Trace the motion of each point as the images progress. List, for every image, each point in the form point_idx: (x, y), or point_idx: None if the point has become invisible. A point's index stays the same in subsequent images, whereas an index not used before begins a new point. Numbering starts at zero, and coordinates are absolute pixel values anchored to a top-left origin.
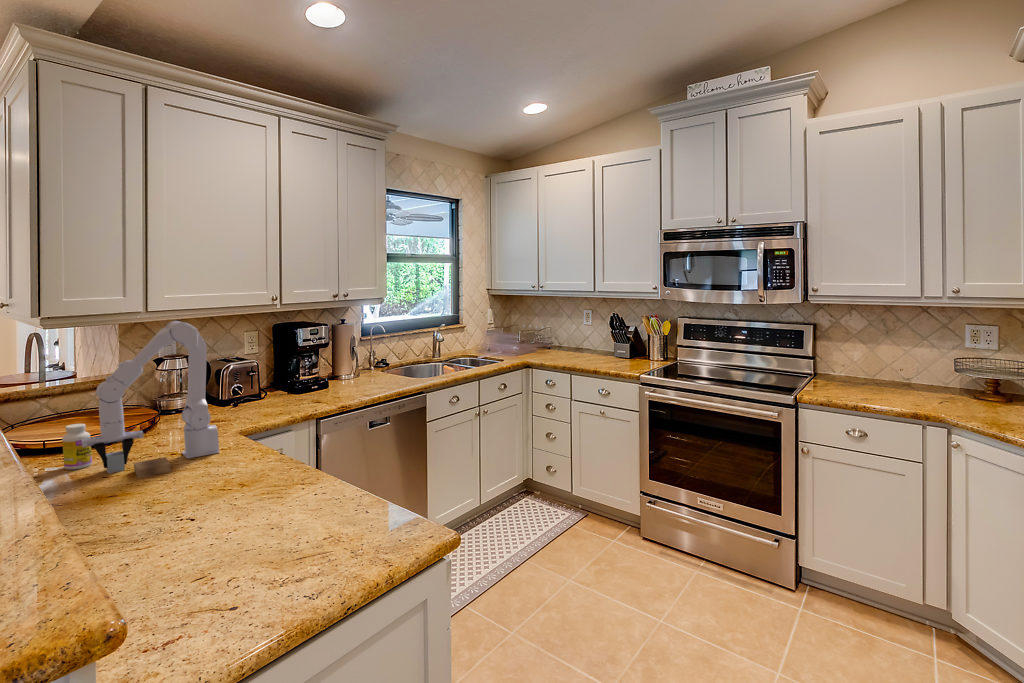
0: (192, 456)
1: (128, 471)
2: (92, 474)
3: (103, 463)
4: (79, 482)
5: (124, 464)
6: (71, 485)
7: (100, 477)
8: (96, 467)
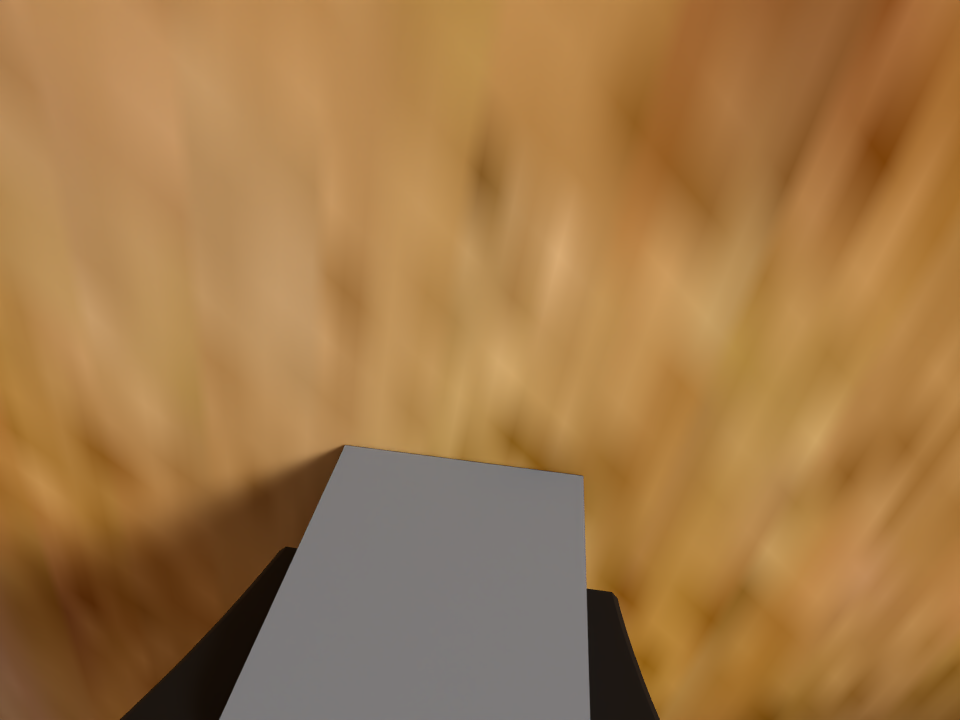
0: None
1: None
2: (165, 507)
3: None
4: (69, 662)
5: None
6: (12, 686)
7: None
8: (185, 161)
